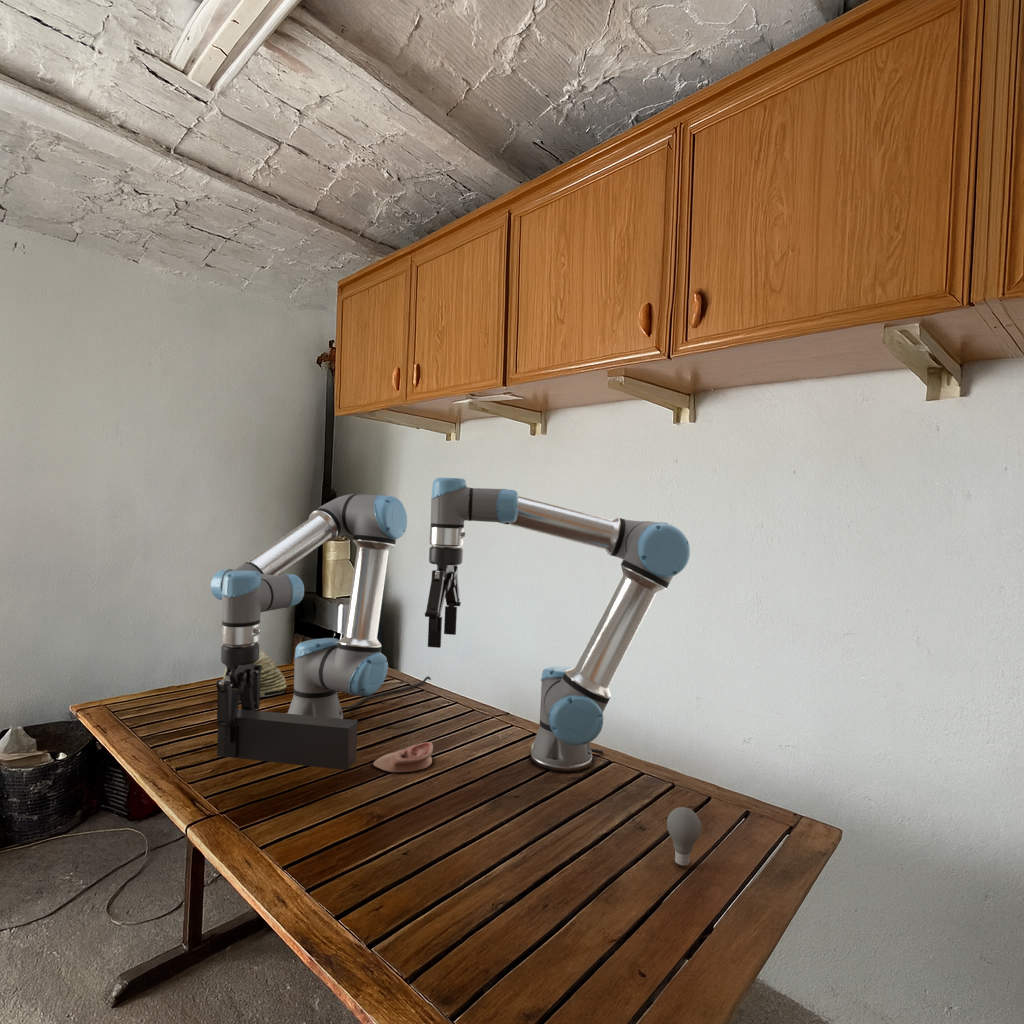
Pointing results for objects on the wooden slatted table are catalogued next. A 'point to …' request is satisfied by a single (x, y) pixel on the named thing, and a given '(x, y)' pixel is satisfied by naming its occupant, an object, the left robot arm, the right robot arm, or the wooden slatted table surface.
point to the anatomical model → (407, 759)
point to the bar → (294, 739)
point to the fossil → (269, 676)
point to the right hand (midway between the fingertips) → (442, 640)
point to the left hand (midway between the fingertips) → (238, 750)
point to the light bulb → (683, 832)
